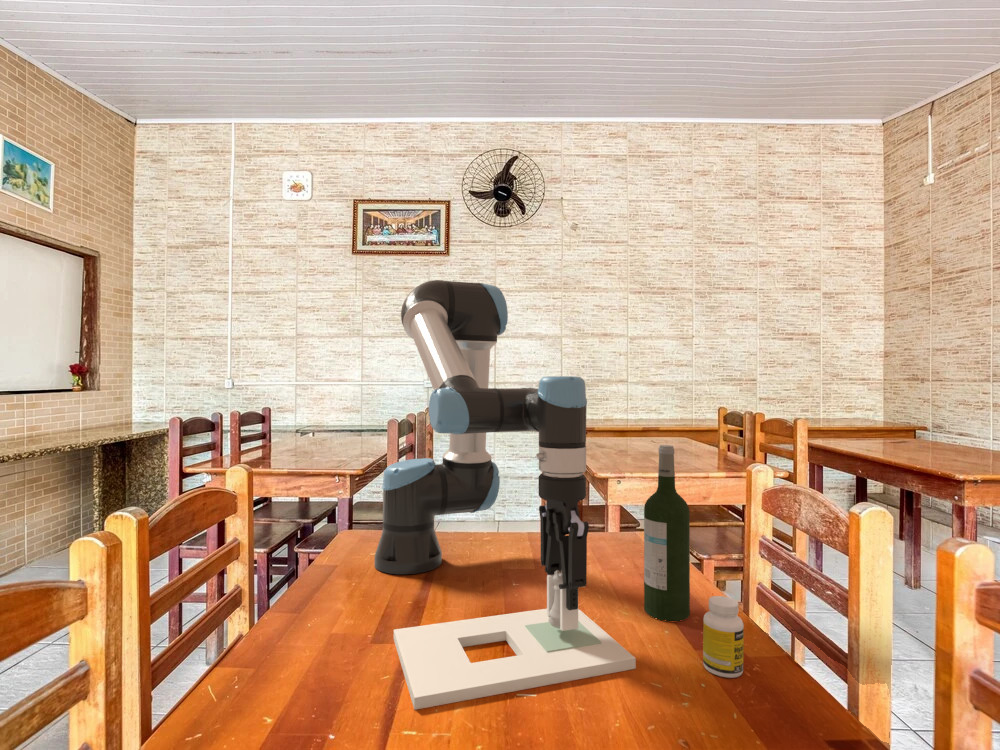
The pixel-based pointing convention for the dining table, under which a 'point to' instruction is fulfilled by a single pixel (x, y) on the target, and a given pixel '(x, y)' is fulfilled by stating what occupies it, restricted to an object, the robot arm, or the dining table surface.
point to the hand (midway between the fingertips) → (562, 621)
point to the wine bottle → (666, 546)
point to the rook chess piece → (556, 601)
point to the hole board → (540, 658)
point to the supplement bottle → (723, 638)
